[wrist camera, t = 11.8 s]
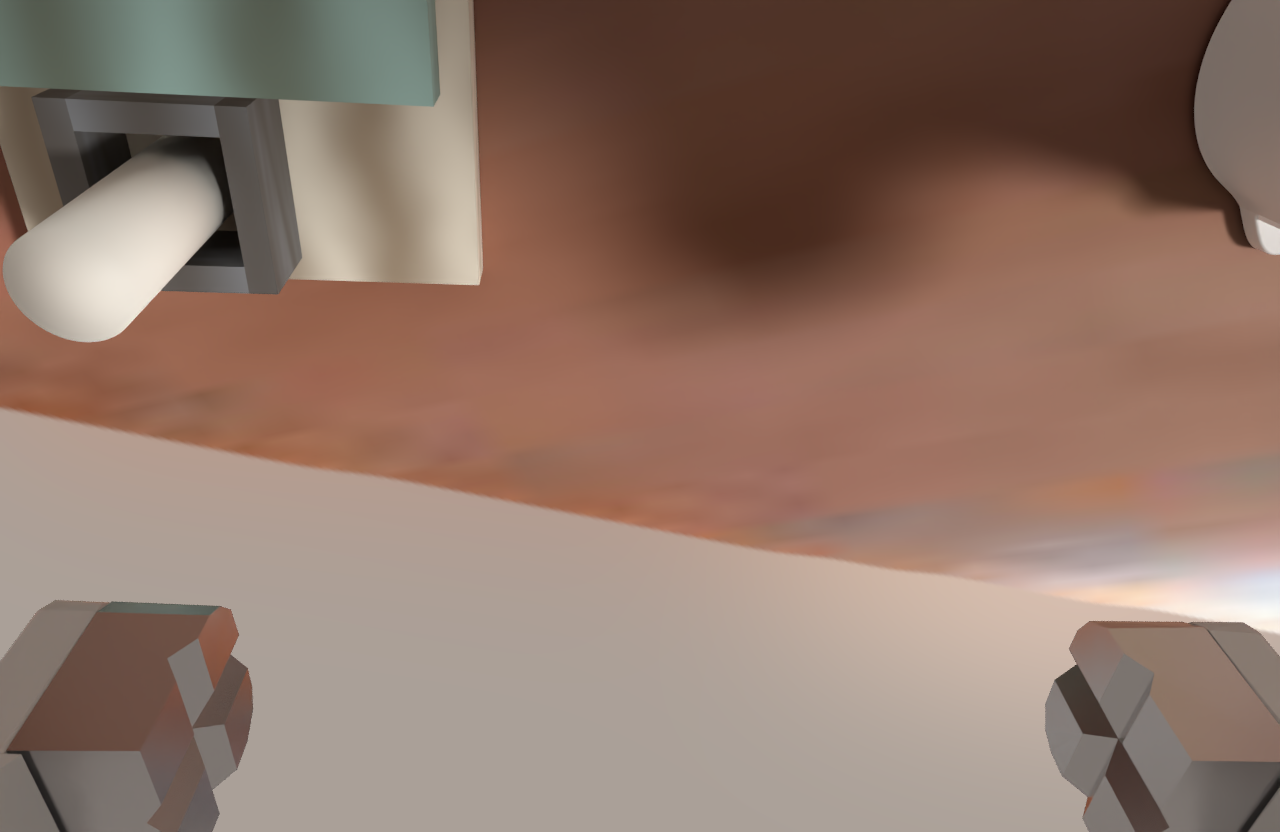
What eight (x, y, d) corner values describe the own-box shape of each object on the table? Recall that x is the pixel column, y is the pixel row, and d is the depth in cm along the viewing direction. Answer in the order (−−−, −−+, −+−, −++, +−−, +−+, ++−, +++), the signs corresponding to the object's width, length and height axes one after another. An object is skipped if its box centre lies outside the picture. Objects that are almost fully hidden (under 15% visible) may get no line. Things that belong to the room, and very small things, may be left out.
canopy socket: (465, -224, 34) (411, -254, 23) (482, 268, 45) (452, 406, 34) (-97, -267, 32) (-442, -322, 21) (61, 254, 43) (-115, 395, 32)
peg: (239, 128, 38) (118, 232, 28) (254, 218, 41) (147, 343, 31) (142, 124, 38) (-15, 227, 28) (163, 215, 40) (24, 340, 30)
